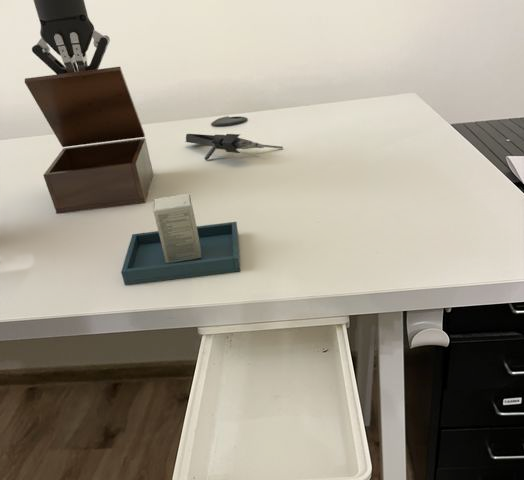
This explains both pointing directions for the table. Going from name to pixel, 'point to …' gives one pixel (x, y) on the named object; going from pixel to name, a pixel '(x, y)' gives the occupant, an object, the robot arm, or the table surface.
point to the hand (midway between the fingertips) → (86, 101)
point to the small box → (177, 228)
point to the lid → (87, 106)
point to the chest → (100, 176)
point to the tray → (212, 261)
